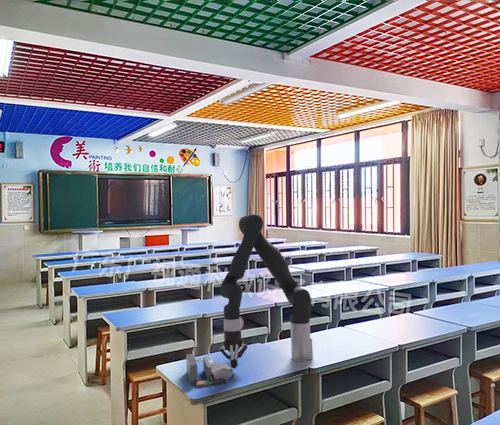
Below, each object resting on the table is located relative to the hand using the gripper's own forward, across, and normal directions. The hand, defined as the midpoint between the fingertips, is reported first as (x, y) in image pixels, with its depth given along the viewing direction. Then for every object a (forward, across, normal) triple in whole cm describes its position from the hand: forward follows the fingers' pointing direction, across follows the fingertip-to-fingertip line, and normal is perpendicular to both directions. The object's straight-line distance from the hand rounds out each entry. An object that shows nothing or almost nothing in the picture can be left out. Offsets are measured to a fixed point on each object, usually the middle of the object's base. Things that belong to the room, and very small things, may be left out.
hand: (234, 367), depth 181 cm
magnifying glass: (+2, -6, -20) cm, 21 cm away
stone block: (+2, +6, +1) cm, 6 cm away
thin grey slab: (+1, +12, +2) cm, 12 cm away
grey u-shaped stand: (+2, +13, +2) cm, 13 cm away
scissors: (+3, +8, -16) cm, 18 cm away
